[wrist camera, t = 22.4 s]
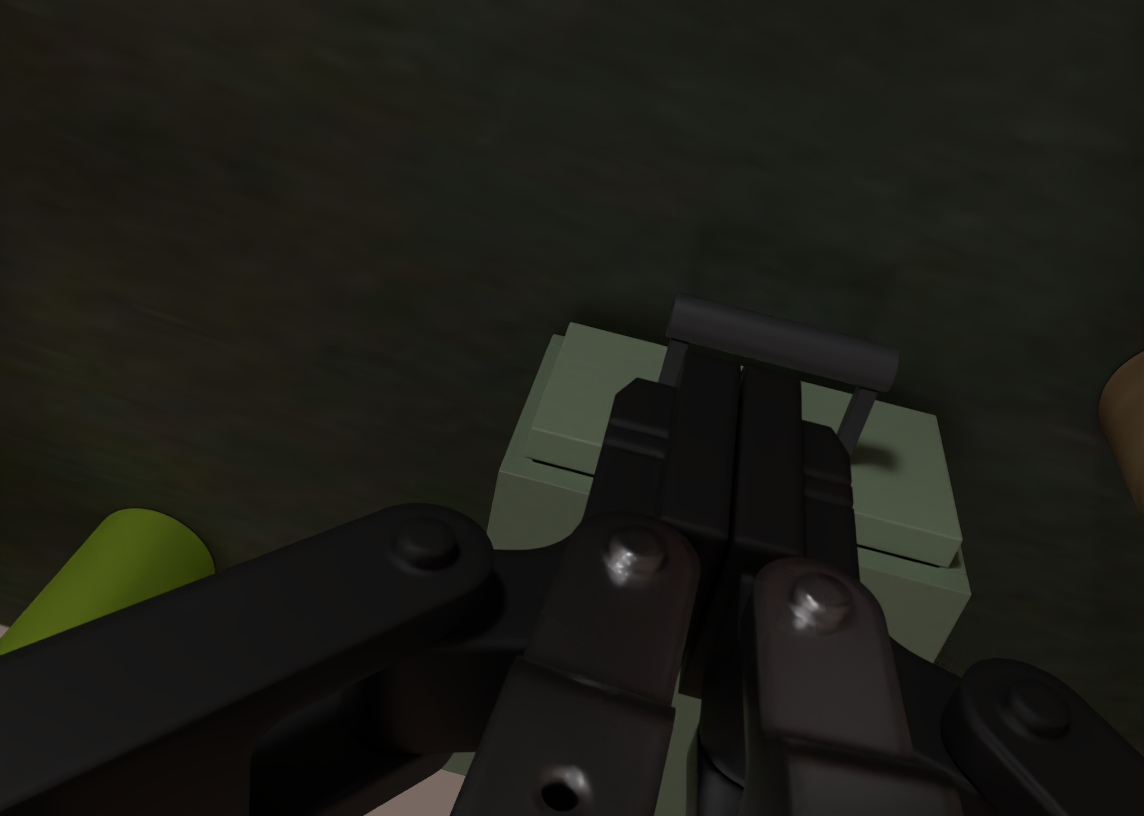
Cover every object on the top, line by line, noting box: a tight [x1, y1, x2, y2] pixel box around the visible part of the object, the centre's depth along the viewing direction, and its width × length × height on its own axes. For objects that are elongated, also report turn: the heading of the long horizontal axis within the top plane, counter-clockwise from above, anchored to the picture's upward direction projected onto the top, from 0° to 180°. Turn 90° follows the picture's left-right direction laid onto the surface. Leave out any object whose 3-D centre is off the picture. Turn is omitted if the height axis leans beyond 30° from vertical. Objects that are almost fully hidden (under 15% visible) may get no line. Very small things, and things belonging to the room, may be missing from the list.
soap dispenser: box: [0, 508, 215, 655], centre depth 42 cm, size 6×7×20 cm
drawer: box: [525, 293, 963, 568], centre depth 38 cm, size 18×14×7 cm
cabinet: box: [442, 334, 971, 816], centre depth 40 cm, size 15×15×9 cm
